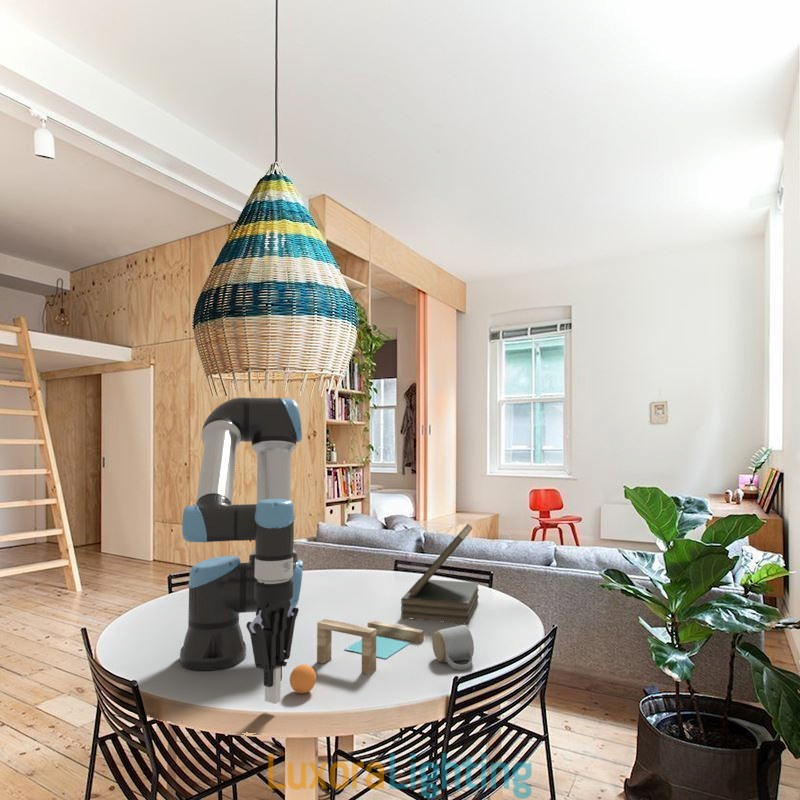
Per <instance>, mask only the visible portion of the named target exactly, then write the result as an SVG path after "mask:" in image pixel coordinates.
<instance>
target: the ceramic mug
mask: <svg viewBox="0 0 800 800" xmlns="http://www.w3.org/2000/svg"><path fill="white" fill-rule="evenodd" d="M431 643H432V645H431V646H432V650H433V655H434V657H435V658H436V660H438V662H440V663H447V664H448V665H449V666H450V667H451V668H452V669H454V670H458V671H465V670H468V669H470V667H471V666H472V663H473V656H474V650H475V649H474V648H475V645H474V639H473V635H472V633H471V631H470V628H468V626H467V625H466V624H460V625H456V626H453V627H446V628H442V629H440V630H437V631H435V632H434V633H433V635H432V639H431ZM465 660H466V661H467V660H469V661H468V663H465V664H459V663H455V662H459V661H465Z"/></svg>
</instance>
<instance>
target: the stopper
mask: <svg viewBox="0 0 800 800" xmlns="http://www.w3.org/2000/svg"><path fill="white" fill-rule="evenodd" d="M367 627H369V628H374V629H376V635H381V636H385V637H386V636H387V637H390V636H391V637H390V638H395V637H396V638H395V639H400V638H401V639H400V640H405V639H406V641H410V640H412V641H411V642H415V641H417V642H416V643H422V642H423V641H424V640H425V639H424V638H425V637H424V636H425V634H424V633H425V630H424V629H423V630H422V629H419V628H418V629H417V628H413V627H407V626H402V625H397V624H391V623H387V622H380V621H376V620H369V621H367ZM421 641H422V642H421Z"/></svg>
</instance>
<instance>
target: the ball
mask: <svg viewBox="0 0 800 800" xmlns="http://www.w3.org/2000/svg"><path fill="white" fill-rule="evenodd" d="M316 681H317V674H316V672H315V670H314V668H313V667H312V666H310V665H308V664H298V665H297V666H296V667H294V669H292V671H291V673H290V675H289V685H290V687H291V689H292V690H293V691H295V693H297V694H306V693H307V694H308V693H309V692H311V691H312V689H313V688H314V687H315V685H316V683H317V682H316Z"/></svg>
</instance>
